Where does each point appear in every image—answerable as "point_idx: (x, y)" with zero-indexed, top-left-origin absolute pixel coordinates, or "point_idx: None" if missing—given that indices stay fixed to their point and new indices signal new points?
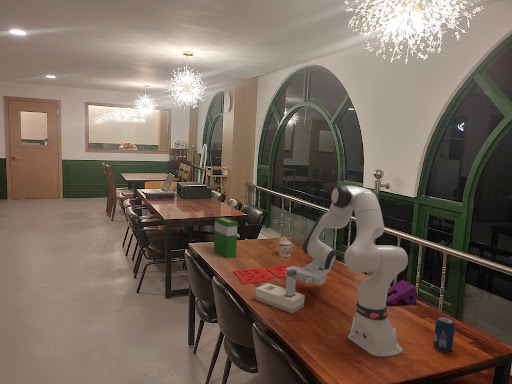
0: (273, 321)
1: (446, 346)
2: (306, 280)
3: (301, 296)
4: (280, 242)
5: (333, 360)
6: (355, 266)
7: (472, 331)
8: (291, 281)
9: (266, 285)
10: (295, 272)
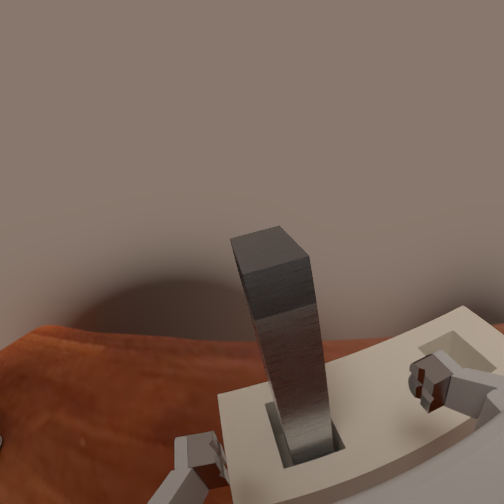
0: (236, 352)
1: None
2: (176, 446)
3: (231, 475)
4: None
5: (31, 357)
6: None
7: None
8: (252, 323)
9: (499, 350)
10: (244, 285)
